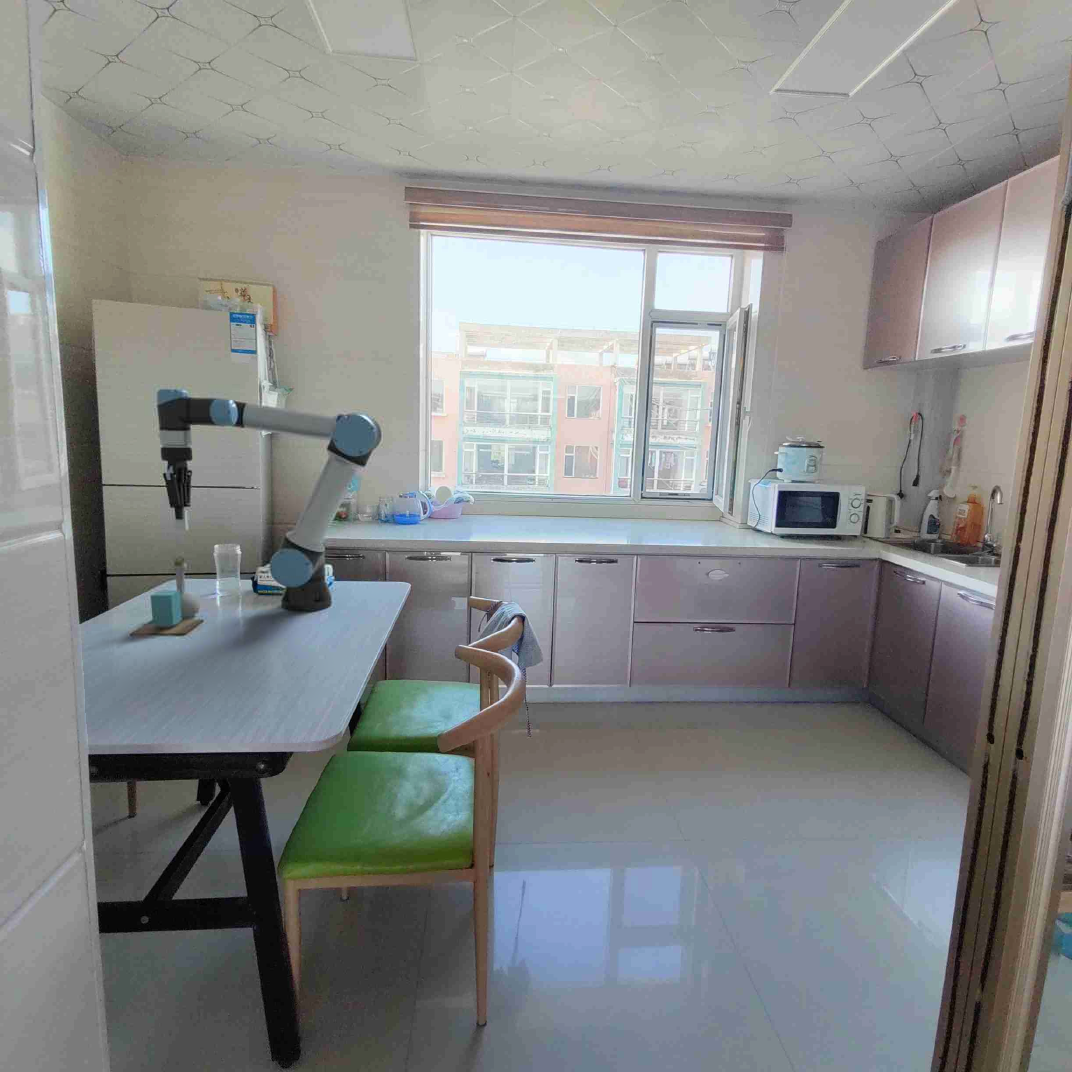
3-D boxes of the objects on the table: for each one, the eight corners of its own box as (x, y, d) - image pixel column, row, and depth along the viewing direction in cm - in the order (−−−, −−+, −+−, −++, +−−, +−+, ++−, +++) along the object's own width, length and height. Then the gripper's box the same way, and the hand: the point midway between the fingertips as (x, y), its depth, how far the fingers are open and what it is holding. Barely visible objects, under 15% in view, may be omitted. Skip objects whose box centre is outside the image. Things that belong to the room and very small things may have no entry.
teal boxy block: (181, 619, 173) (179, 590, 172) (173, 625, 168) (171, 595, 167) (162, 620, 172) (159, 590, 171) (153, 625, 167) (150, 595, 166)
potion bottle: (206, 613, 185) (202, 555, 181) (188, 622, 176) (184, 561, 173) (177, 612, 185) (173, 554, 182) (158, 621, 176) (153, 560, 173)
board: (203, 621, 177) (203, 619, 177) (185, 635, 166) (185, 633, 165) (152, 621, 176) (151, 619, 175) (129, 635, 164) (129, 633, 164)
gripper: (172, 445, 176) (178, 526, 180) (150, 446, 163) (156, 534, 167) (200, 446, 177) (205, 526, 181) (180, 447, 164) (186, 534, 168)
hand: (182, 530), depth 174 cm, fingers closed
